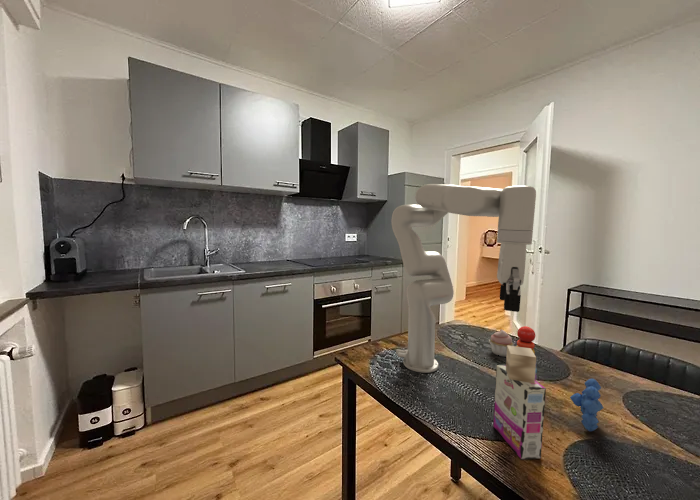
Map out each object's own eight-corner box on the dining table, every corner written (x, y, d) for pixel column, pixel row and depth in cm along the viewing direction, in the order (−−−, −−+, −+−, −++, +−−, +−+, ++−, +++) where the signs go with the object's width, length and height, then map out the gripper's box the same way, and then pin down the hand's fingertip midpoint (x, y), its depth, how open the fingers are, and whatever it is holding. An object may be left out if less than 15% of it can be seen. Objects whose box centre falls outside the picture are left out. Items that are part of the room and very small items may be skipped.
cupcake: (492, 346, 124) (493, 323, 123) (516, 353, 117) (518, 329, 116) (484, 353, 117) (485, 329, 116) (509, 361, 110) (511, 335, 110)
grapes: (570, 408, 82) (573, 367, 81) (601, 418, 77) (605, 375, 76) (566, 429, 73) (569, 384, 72) (601, 442, 69) (606, 394, 68)
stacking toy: (541, 390, 90) (545, 332, 89) (513, 387, 92) (517, 330, 90) (531, 377, 98) (534, 324, 97) (505, 375, 100) (508, 322, 98)
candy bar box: (542, 459, 64) (547, 388, 62) (521, 460, 63) (525, 389, 62) (510, 424, 75) (514, 363, 73) (492, 425, 74) (495, 364, 73)
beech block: (509, 379, 66) (510, 353, 65) (505, 369, 71) (507, 345, 70) (534, 383, 64) (536, 357, 64) (529, 372, 69) (530, 348, 68)
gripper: (494, 235, 80) (489, 295, 82) (500, 238, 64) (495, 313, 66) (525, 236, 78) (519, 298, 80) (540, 240, 62) (533, 318, 64)
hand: (508, 305), depth 73 cm, fingers open, 9 cm apart
